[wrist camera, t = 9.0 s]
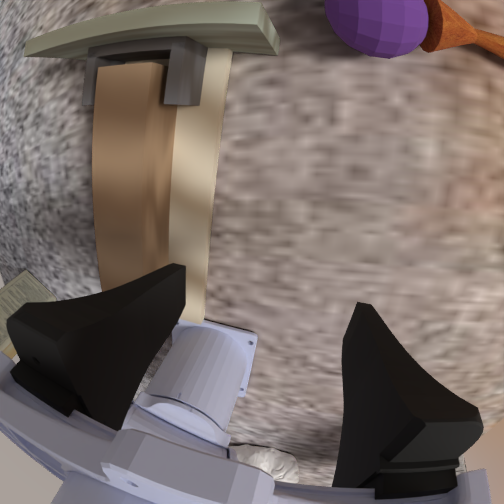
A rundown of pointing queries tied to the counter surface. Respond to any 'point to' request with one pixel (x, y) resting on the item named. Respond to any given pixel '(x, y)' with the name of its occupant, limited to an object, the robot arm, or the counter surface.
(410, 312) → the counter surface
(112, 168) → the rail
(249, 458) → the bust
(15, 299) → the skincare box
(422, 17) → the kendama
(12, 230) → the counter surface
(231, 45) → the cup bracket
